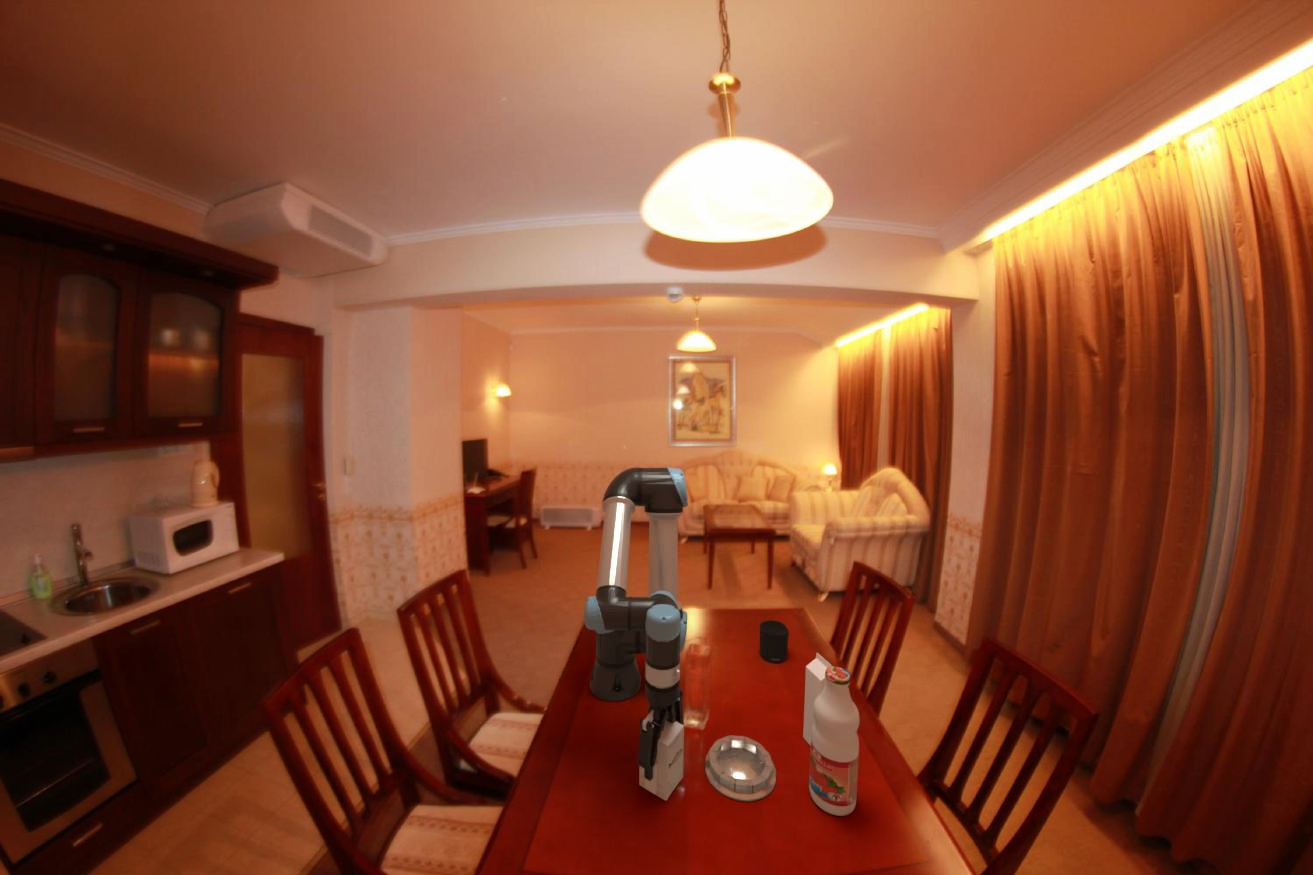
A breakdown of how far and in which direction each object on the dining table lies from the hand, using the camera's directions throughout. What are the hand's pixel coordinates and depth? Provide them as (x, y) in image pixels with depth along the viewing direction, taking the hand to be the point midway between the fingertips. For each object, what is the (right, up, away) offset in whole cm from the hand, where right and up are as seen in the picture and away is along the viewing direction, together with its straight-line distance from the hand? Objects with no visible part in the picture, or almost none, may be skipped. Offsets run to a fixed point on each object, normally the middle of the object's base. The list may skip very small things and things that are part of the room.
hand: (661, 776), depth 98 cm
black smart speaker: (+38, +2, +49) cm, 62 cm away
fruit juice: (+37, -2, -3) cm, 37 cm away
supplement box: (0, -1, 0) cm, 1 cm away
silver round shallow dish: (+18, -1, +3) cm, 18 cm away
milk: (+40, -1, +12) cm, 41 cm away
